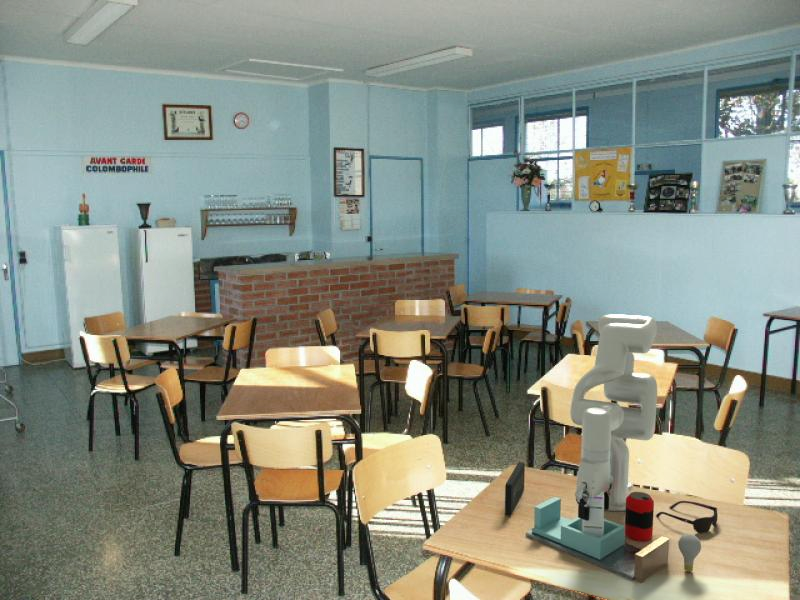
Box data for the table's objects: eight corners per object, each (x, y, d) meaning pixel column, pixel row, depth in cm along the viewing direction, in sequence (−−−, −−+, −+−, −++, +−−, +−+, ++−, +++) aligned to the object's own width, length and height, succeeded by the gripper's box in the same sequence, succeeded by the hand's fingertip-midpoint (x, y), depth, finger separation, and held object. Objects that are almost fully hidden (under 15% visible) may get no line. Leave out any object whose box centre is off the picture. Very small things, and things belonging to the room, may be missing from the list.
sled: (556, 518, 215) (557, 495, 214) (624, 544, 199) (625, 519, 198) (531, 531, 207) (532, 507, 206) (600, 559, 191) (601, 534, 190)
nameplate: (510, 516, 220) (511, 485, 218) (504, 515, 220) (505, 484, 219) (524, 490, 239) (524, 461, 238) (518, 489, 240) (519, 460, 238)
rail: (556, 519, 217) (557, 497, 216) (668, 563, 191) (670, 538, 190) (525, 535, 207) (526, 512, 206) (640, 583, 181) (641, 557, 180)
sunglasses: (701, 538, 206) (702, 521, 205) (650, 520, 217) (651, 504, 217) (723, 523, 215) (724, 507, 214) (672, 507, 226) (673, 491, 226)
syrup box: (603, 545, 196) (605, 495, 194) (581, 543, 197) (582, 493, 195) (602, 536, 201) (604, 486, 199) (580, 534, 203) (582, 484, 201)
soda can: (638, 544, 202) (640, 503, 200) (618, 533, 208) (620, 493, 207) (658, 538, 205) (660, 498, 203) (638, 527, 212) (639, 488, 210)
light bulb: (673, 566, 189) (675, 530, 188) (693, 565, 190) (695, 529, 188) (683, 577, 184) (685, 540, 183) (703, 576, 185) (705, 539, 183)
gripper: (600, 442, 204) (598, 500, 207) (565, 458, 193) (563, 518, 195) (624, 449, 199) (622, 508, 201) (590, 465, 187) (587, 528, 190)
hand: (593, 513), depth 198 cm, fingers open, 9 cm apart
